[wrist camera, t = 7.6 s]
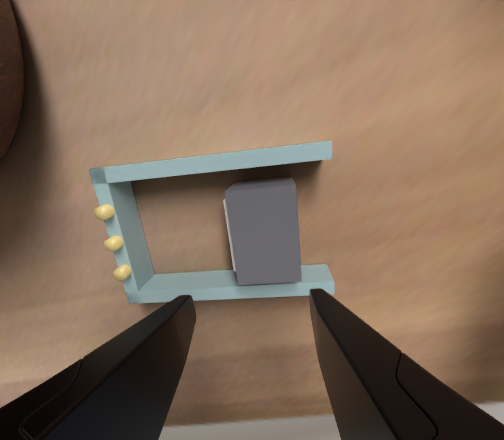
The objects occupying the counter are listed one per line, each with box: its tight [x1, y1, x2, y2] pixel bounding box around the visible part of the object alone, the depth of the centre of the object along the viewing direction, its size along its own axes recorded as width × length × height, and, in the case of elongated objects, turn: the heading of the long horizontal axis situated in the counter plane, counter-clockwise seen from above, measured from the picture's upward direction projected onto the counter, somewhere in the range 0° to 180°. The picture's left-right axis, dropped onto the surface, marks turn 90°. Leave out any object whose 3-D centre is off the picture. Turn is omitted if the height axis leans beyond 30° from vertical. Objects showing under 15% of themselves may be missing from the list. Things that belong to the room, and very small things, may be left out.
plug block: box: [223, 176, 302, 285], centre depth 16 cm, size 4×6×4 cm
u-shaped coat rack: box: [89, 141, 335, 304], centre depth 17 cm, size 15×10×3 cm, turn 97°
